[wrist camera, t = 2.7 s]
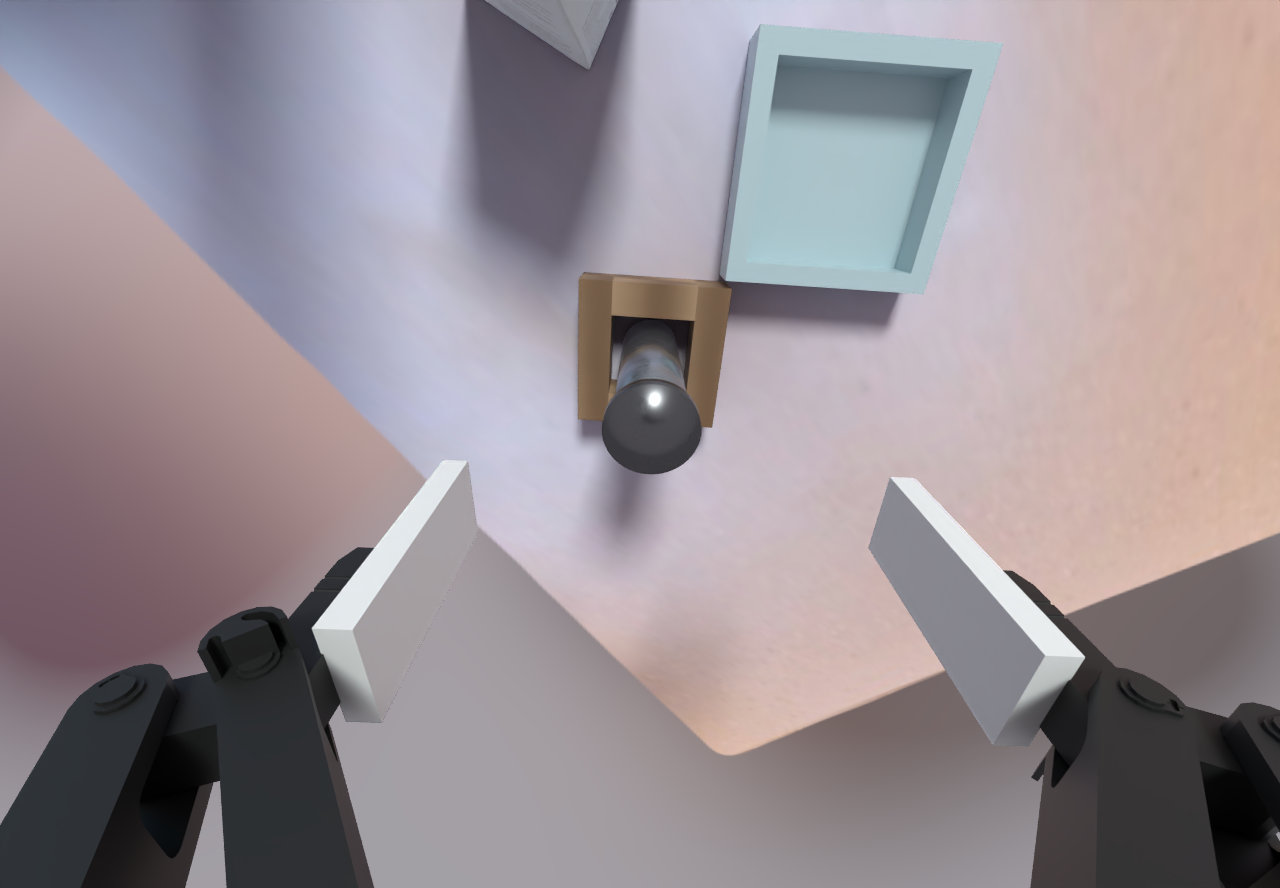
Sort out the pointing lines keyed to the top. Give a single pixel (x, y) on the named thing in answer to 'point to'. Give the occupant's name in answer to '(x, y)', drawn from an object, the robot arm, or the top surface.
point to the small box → (563, 23)
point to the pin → (651, 404)
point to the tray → (850, 156)
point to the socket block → (650, 300)
